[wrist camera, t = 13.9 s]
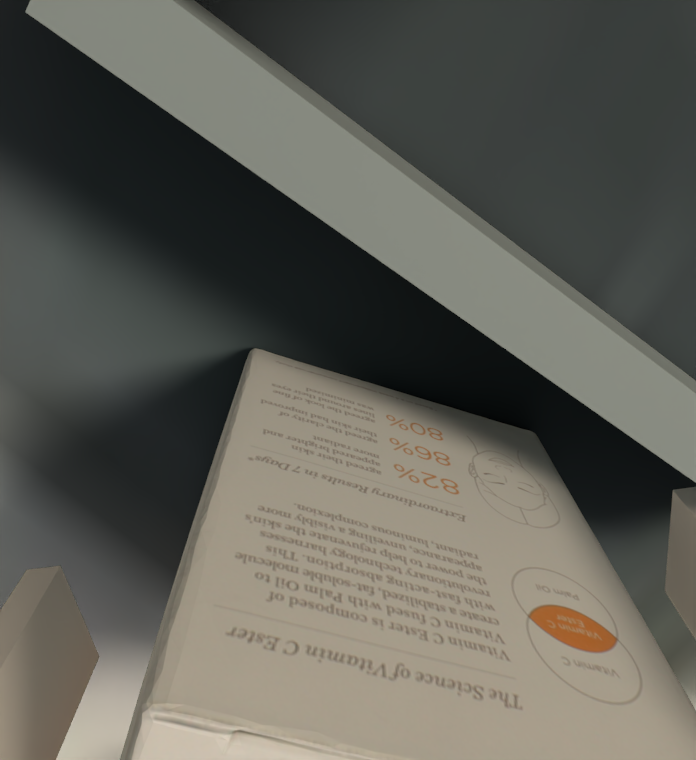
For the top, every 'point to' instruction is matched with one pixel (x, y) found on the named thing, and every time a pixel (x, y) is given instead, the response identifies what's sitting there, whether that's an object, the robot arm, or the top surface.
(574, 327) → the door
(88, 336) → the top surface
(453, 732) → the small box
